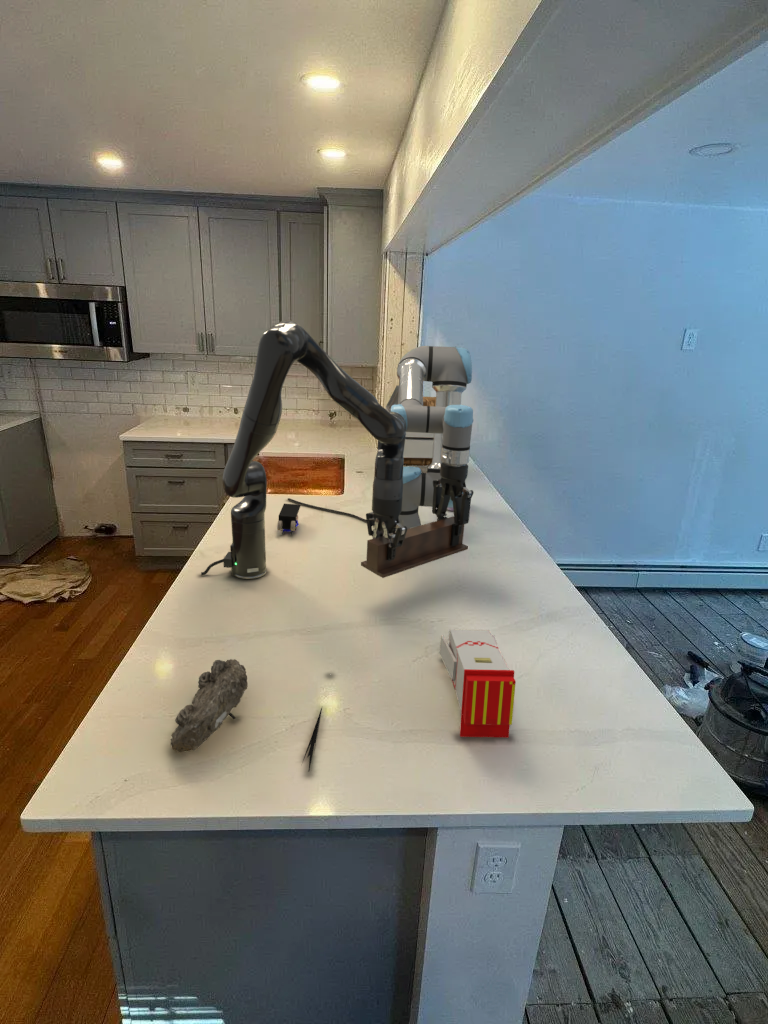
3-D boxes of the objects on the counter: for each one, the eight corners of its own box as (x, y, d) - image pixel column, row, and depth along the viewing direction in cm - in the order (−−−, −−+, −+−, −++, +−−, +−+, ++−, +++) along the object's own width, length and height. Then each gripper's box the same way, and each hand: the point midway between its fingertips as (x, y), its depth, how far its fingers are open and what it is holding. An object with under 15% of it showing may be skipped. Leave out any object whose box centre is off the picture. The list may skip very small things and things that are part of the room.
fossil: (195, 660, 117) (247, 628, 112) (227, 691, 120) (279, 661, 115) (146, 746, 98) (206, 711, 93) (185, 779, 101) (245, 748, 96)
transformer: (381, 463, 289) (385, 382, 275) (444, 464, 292) (450, 384, 279) (389, 482, 257) (393, 392, 243) (459, 483, 261) (467, 394, 247)
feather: (331, 679, 122) (336, 673, 122) (307, 777, 96) (313, 769, 95) (324, 675, 122) (329, 669, 121) (298, 772, 95) (304, 764, 95)
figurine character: (296, 541, 193) (301, 521, 206) (295, 521, 189) (301, 502, 203) (276, 540, 193) (283, 520, 206) (275, 520, 189) (282, 501, 203)
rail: (382, 578, 142) (384, 549, 140) (360, 565, 149) (361, 537, 146) (468, 549, 162) (470, 523, 159) (445, 539, 169) (447, 513, 166)
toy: (489, 613, 130) (525, 677, 101) (485, 667, 133) (518, 744, 104) (437, 612, 130) (457, 676, 101) (434, 666, 133) (453, 743, 103)
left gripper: (358, 488, 144) (355, 550, 150) (395, 504, 134) (391, 570, 139) (380, 484, 148) (377, 544, 154) (418, 499, 138) (413, 562, 144)
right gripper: (422, 457, 158) (417, 535, 166) (469, 472, 146) (461, 555, 154) (441, 454, 163) (435, 529, 171) (488, 468, 150) (479, 549, 158)
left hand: (384, 556), depth 147 cm, fingers closed on rail, 4 cm apart
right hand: (447, 541), depth 162 cm, fingers closed on rail, 4 cm apart
